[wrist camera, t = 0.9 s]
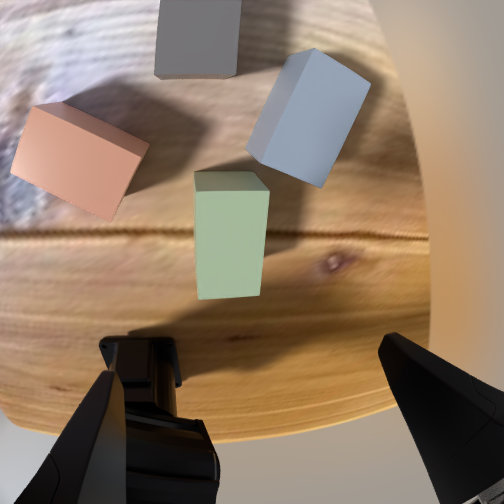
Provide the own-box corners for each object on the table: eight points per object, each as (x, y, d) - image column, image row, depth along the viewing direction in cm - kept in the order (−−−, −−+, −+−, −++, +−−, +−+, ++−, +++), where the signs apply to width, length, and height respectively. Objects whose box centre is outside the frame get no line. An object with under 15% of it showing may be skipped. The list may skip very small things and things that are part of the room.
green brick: (246, 261, 21) (259, 295, 18) (194, 263, 20) (198, 299, 17) (252, 171, 18) (269, 190, 15) (193, 171, 17) (196, 191, 14)
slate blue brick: (295, 169, 19) (321, 188, 15) (244, 148, 17) (260, 163, 14) (336, 83, 16) (371, 83, 13) (287, 56, 15) (314, 48, 11)
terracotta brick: (150, 143, 16) (141, 157, 13) (124, 196, 17) (110, 222, 14) (62, 101, 13) (32, 105, 10) (40, 155, 14) (10, 172, 11)
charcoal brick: (224, 79, 15) (236, 74, 12) (161, 79, 14) (154, 74, 11) (232, -16, 12) (245, -42, 8) (169, -17, 11) (166, -44, 8)
